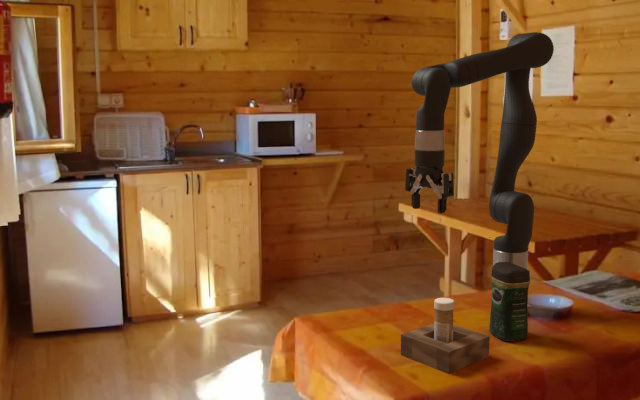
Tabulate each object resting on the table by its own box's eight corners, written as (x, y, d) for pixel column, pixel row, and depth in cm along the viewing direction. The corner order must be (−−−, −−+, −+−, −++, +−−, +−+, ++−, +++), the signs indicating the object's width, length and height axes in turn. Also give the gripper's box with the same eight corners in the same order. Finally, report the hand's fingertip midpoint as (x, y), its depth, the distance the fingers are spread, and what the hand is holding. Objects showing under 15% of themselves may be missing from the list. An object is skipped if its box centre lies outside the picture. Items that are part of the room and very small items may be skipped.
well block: (441, 339, 180) (441, 320, 179) (488, 356, 169) (489, 336, 168) (400, 354, 170) (400, 334, 169) (448, 373, 160) (449, 352, 159)
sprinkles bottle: (456, 355, 170) (458, 299, 168) (445, 360, 167) (446, 304, 164) (440, 349, 173) (442, 295, 171) (429, 355, 170) (430, 300, 168)
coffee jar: (533, 340, 179) (536, 267, 175) (504, 344, 176) (507, 270, 173) (511, 327, 188) (514, 257, 184) (484, 331, 185) (486, 260, 182)
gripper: (461, 148, 181) (459, 212, 184) (418, 144, 192) (417, 205, 194) (441, 151, 176) (440, 216, 179) (398, 146, 187) (398, 208, 190)
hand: (428, 210), depth 187 cm, fingers open, 8 cm apart
